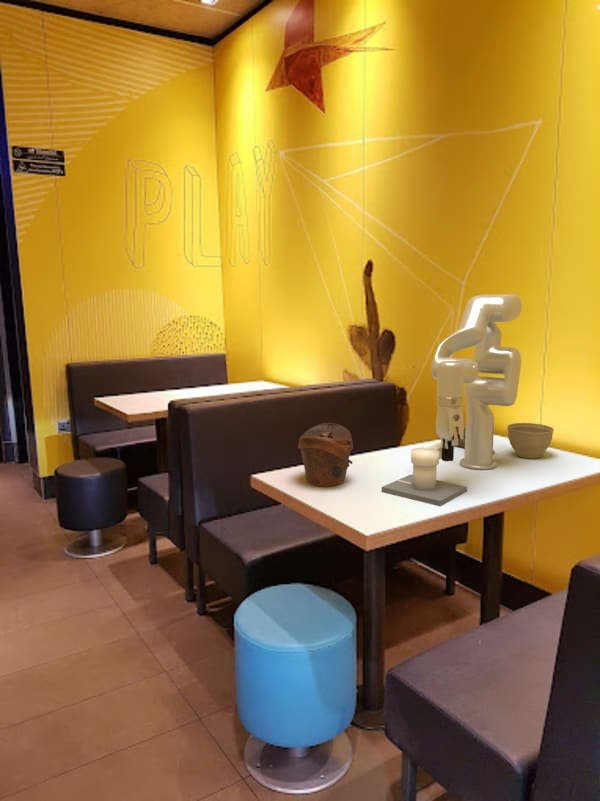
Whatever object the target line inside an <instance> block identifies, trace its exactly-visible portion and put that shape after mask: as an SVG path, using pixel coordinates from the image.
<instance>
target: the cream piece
mask: <svg viewBox="0 0 600 801" xmlns="http://www.w3.org/2000/svg"><path fill="white" fill-rule="evenodd" d="M442 448H443V447H442V446H441V441H440V442H438V443H437V442H436V443H433V444H432V445H429V446H427V447H424V446H423V447H422V446H421V447H415V448H412V449H411V450H410V451H411V452H410V463H411V464H412V465H413V464H415V465H419V466H435V465H437V466H439V464H440V460H442Z"/></svg>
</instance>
